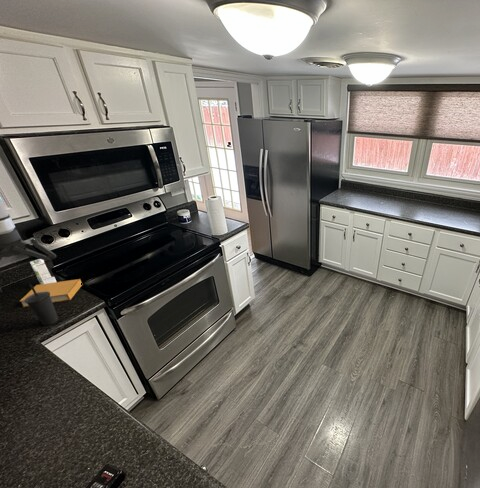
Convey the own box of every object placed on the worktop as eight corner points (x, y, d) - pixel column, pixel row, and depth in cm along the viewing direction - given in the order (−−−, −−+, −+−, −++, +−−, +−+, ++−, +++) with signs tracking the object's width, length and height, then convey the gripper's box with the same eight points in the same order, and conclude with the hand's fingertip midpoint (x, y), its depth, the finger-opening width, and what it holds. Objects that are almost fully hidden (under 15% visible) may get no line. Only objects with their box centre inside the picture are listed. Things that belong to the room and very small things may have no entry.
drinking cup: (45, 329, 113) (24, 291, 104) (34, 325, 115) (12, 287, 106) (66, 318, 119) (47, 281, 110) (55, 313, 121) (36, 277, 112)
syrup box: (40, 285, 141) (28, 261, 134) (55, 280, 145) (44, 257, 139) (43, 289, 138) (31, 265, 131) (58, 284, 142) (47, 260, 136)
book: (23, 307, 125) (19, 301, 123) (39, 290, 137) (36, 284, 135) (70, 299, 131) (67, 293, 129) (82, 284, 142) (80, 279, 141)
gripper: (-63, 246, 78) (-25, 302, 87) (52, 224, 96) (73, 273, 105) (-62, 238, 82) (-26, 293, 92) (48, 219, 100) (68, 266, 109)
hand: (27, 282), depth 98 cm, fingers open, 13 cm apart
